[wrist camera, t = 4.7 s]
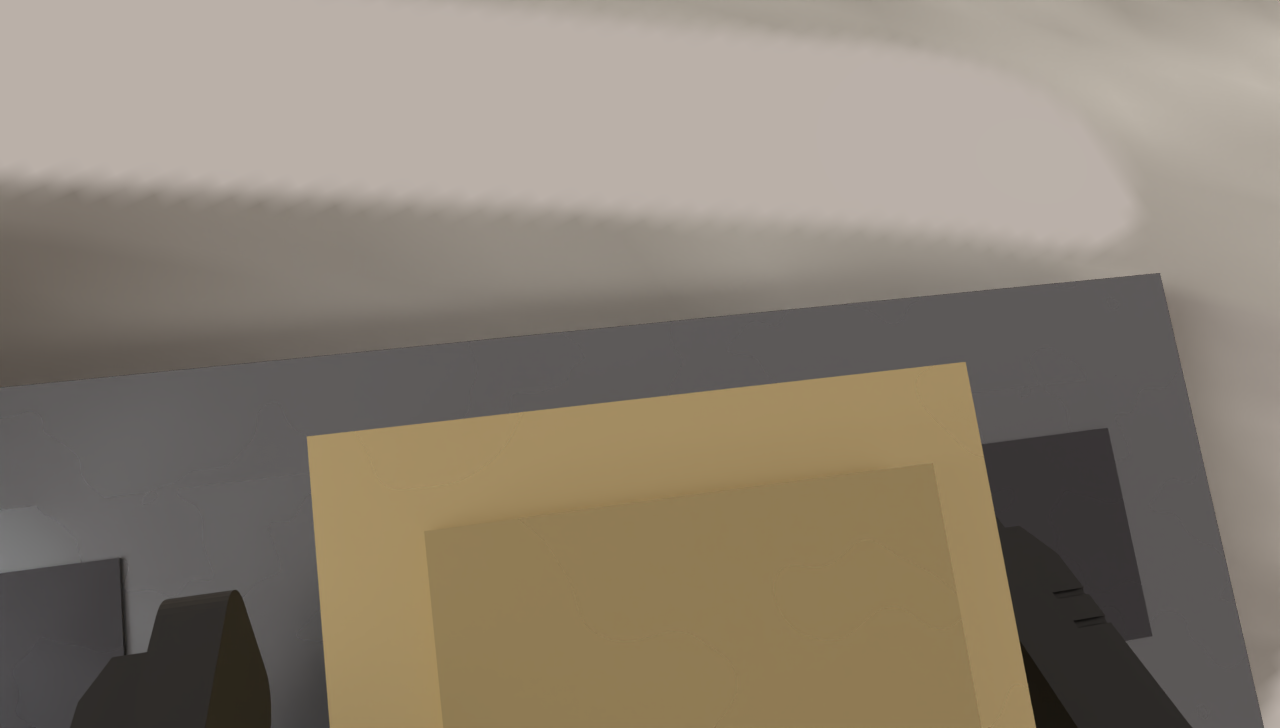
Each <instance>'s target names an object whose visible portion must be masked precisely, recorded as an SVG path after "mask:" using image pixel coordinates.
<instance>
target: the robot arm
mask: <svg viewBox="0 0 1280 728" xmlns="http://www.w3.org/2000/svg"><path fill="white" fill-rule="evenodd" d="M995 517H996V522H997V528H998V533H999V538H1000V543H1001V548H1002V553H1003V559H1004V564H1005V569H1006V574H1007V579H1008V585H1009V590H1010V595H1011V600H1012V605H1013V611H1014V616H1015V621H1016V626H1017V631H1018V637H1019V642H1020V647H1021V652H1022V657H1023V662H1024V668H1025V673H1026V678H1027V683H1028V688H1029V694H1030V699H1031V704H1032V709H1033V714H1034V720H1035V725H1036V728H1192V727H1191V725H1190V724H1189V723H1188V722H1187V720H1186V719H1185V718H1184V716H1183V715H1182V714H1181V713H1180V711H1179V710H1178V709H1177V707H1176V706H1175V705H1174V703H1173V702H1172V701H1171V700H1170V698H1169V697H1168V696H1167V694H1166V693H1165V692H1164V691H1163V689H1162V688H1161V687H1160V685H1159V684H1158V683H1157V681H1156V680H1155V679H1154V678H1153V676H1152V675H1151V674H1150V672H1149V671H1148V670H1147V669H1146V667H1145V666H1144V665H1143V663H1142V662H1141V661H1140V660H1139V658H1138V657H1137V656H1136V654H1135V653H1134V652H1133V650H1132V649H1131V648H1130V647H1129V645H1128V644H1127V643H1126V641H1125V640H1124V639H1123V638H1122V636H1121V635H1120V634H1119V632H1118V631H1117V630H1116V628H1115V627H1114V626H1113V625H1112V623H1111V622H1110V623H1107V622H1106V620H1105V614H1104V613H1103V612H1102V610H1101V609H1100V608H1099V606H1098V605H1097V604H1096V603H1095V601H1094V600H1093V599H1092V597H1091V596H1090V595H1089V594H1085V593H1084V590H1083V588H1084V587H1083V586H1082V585H1081V583H1080V582H1079V581H1078V579H1077V578H1076V577H1075V575H1074V574H1073V573H1072V572H1071V570H1070V569H1069V568H1068V566H1067V565H1066V564H1065V563H1064V561H1063V560H1062V559H1061V557H1060V556H1059V555H1058V553H1056V552H1055V551H1054V550H1052V549H1051V548H1049V547H1048V546H1047V545H1045V544H1044V543H1043V542H1041V541H1040V540H1038V539H1037V538H1036V537H1034V536H1033V535H1032V534H1030V533H1029V532H1027V531H1026V530H1025V529H1023V528H1022V527H1021V526H1014V527H1007V528H1005V527H1004V526H1003V524H1002V523H1001V522H1000V520H999V519H998V518H997V516H996V515H995ZM70 728H271V695H270V687H269V681H268V676H267V672H266V669H265V666H264V663H263V660H262V657H261V654H260V650H259V647H258V644H257V641H256V638H255V635H254V632H253V629H252V626H251V623H250V620H249V617H248V613H247V610H246V607H245V604H244V601H243V598H242V596H241V594H240V593H239V591H237V590H230V591H223V592H215V593H208V594H201V595H194V596H186V597H179V598H172V599H166V600H164V601H163V602H162V603H161V604H160V606H159V609H158V611H157V614H156V618H155V622H154V626H153V630H152V634H151V637H150V641H149V645H148V649H147V652H144V653H137V654H130V655H123V656H117V657H112V658H111V659H110V661H109V662H108V663H107V665H106V666H105V667H104V669H103V670H102V671H101V672H100V674H99V675H98V676H97V678H96V679H95V680H94V682H93V683H92V684H91V686H90V687H89V688H88V690H87V691H86V692H85V693H84V695H83V696H82V697H81V699H80V700H79V701H78V703H77V707H76V710H75V713H74V716H73V719H72V723H71V726H70Z"/></svg>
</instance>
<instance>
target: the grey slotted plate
mask: <svg viewBox="0 0 1280 728" xmlns="http://www.w3.org/2000/svg"><path fill="white" fill-rule="evenodd" d="M960 362H966V367H967V372H968V377H969V382H970V387H971V393H972V398H973V403H974V408H975V413H976V419H977V424H978V429H979V434H980V439H981V445H982V450H983V455H984V460H985V465H986V470H987V476H988V481H989V486H990V491H991V496H992V502H993V507H994V512H995V515H996V516H997V518H998V519H999V520H1000V522H1001V523H1002V524H1003V526H1004V527H1005V528H1007V527H1014V526H1021V527H1022V528H1023V529H1025V530H1026V531H1027V532H1029V533H1030V534H1032V535H1033V536H1034V537H1036V538H1037V539H1038V540H1040V541H1041V542H1043V543H1044V544H1045V545H1047V546H1048V547H1049V548H1051V549H1052V550H1054V551H1055V552H1056V553H1058V555H1059V556H1060V557H1061V559H1062V560H1063V561H1064V563H1065V564H1066V565H1067V566H1068V568H1069V569H1070V570H1071V572H1072V573H1073V574H1074V575H1075V577H1076V578H1077V579H1078V581H1079V582H1080V583H1081V585H1082V586H1083V587H1084V588H1083V590H1084V593H1085V594H1089V595H1090V596H1091V597H1092V599H1093V600H1094V601H1095V603H1096V604H1097V605H1098V606H1099V608H1100V609H1101V610H1102V612H1103V613H1104V614H1105V620H1106V622H1107V623H1110V622H1111V623H1112V625H1113V626H1114V627H1115V628H1116V630H1117V631H1118V632H1119V634H1120V635H1121V636H1122V638H1123V639H1124V640H1125V641H1126V643H1127V644H1128V645H1129V647H1130V648H1131V649H1132V650H1133V652H1134V653H1135V654H1136V656H1137V657H1138V658H1139V660H1140V661H1141V662H1142V663H1143V665H1144V666H1145V667H1146V669H1147V670H1148V671H1149V672H1150V674H1151V675H1152V676H1153V678H1154V679H1155V680H1156V681H1157V683H1158V684H1159V685H1160V687H1161V688H1162V689H1163V691H1164V692H1165V693H1166V694H1167V696H1168V697H1169V698H1170V700H1171V701H1172V702H1173V703H1174V705H1175V706H1176V707H1177V709H1178V710H1179V711H1180V713H1181V714H1182V715H1183V716H1184V718H1185V719H1186V720H1187V722H1188V723H1189V724H1190V725H1191V727H1192V728H1264V726H1263V721H1262V717H1261V712H1260V708H1259V704H1258V699H1257V695H1256V691H1255V686H1254V682H1253V678H1252V673H1251V669H1250V664H1249V660H1248V656H1247V651H1246V647H1245V643H1244V638H1243V634H1242V630H1241V625H1240V621H1239V616H1238V612H1237V608H1236V603H1235V599H1234V595H1233V590H1232V586H1231V582H1230V577H1229V573H1228V568H1227V564H1226V560H1225V555H1224V551H1223V547H1222V542H1221V538H1220V534H1219V529H1218V525H1217V520H1216V516H1215V512H1214V507H1213V503H1212V499H1211V494H1210V490H1209V486H1208V481H1207V477H1206V472H1205V468H1204V464H1203V459H1202V455H1201V451H1200V446H1199V442H1198V438H1197V433H1196V429H1195V425H1194V420H1193V416H1192V411H1191V407H1190V403H1189V398H1188V394H1187V390H1186V385H1185V381H1184V377H1183V372H1182V368H1181V363H1180V359H1179V355H1178V350H1177V346H1176V342H1175V337H1174V333H1173V329H1172V324H1171V320H1170V315H1169V311H1168V307H1167V302H1166V298H1165V294H1164V289H1163V285H1162V281H1161V276H1160V273H1156V274H1146V275H1135V276H1125V277H1115V278H1105V279H1095V280H1085V281H1075V282H1065V283H1054V284H1044V285H1034V286H1024V287H1014V288H1004V289H994V290H984V291H973V292H963V293H953V294H943V295H933V296H923V297H913V298H902V299H892V300H882V301H872V302H862V303H852V304H842V305H832V306H821V307H811V308H801V309H791V310H781V311H771V312H761V313H751V314H740V315H730V316H720V317H710V318H700V319H690V320H680V321H670V322H659V323H649V324H639V325H629V326H619V327H609V328H599V329H588V330H578V331H568V332H558V333H548V334H538V335H528V336H518V337H507V338H497V339H487V340H477V341H467V342H457V343H447V344H437V345H426V346H416V347H406V348H396V349H386V350H376V351H366V352H356V353H345V354H335V355H325V356H315V357H305V358H295V359H285V360H274V361H264V362H254V363H244V364H234V365H224V366H214V367H204V368H193V369H183V370H173V371H163V372H153V373H143V374H133V375H123V376H112V377H102V378H92V379H82V380H72V381H62V382H52V383H42V384H31V385H21V386H11V387H1V388H0V728H70V726H71V723H72V719H73V716H74V713H75V710H76V707H77V703H78V701H79V700H80V699H81V697H82V696H83V695H84V693H85V692H86V691H87V690H88V688H89V687H90V686H91V684H92V683H93V682H94V680H95V679H96V678H97V676H98V675H99V674H100V672H101V671H102V670H103V669H104V667H105V666H106V665H107V663H108V662H109V661H110V659H111V658H112V657H117V656H123V655H130V654H137V653H144V652H147V649H148V645H149V641H150V637H151V634H152V630H153V626H154V622H155V618H156V614H157V611H158V609H159V606H160V604H161V603H162V602H163V601H164V600H166V599H172V598H179V597H186V596H194V595H201V594H208V593H215V592H223V591H230V590H237V591H239V593H240V594H241V596H242V598H243V601H244V604H245V607H246V610H247V613H248V617H249V620H250V623H251V626H252V629H253V632H254V635H255V638H256V641H257V644H258V647H259V650H260V654H261V657H262V660H263V663H264V666H265V669H266V672H267V676H268V681H269V687H270V695H271V728H330V723H329V711H328V698H327V686H326V673H325V660H324V648H323V635H322V622H321V610H320V597H319V585H318V572H317V559H316V547H315V534H314V521H313V509H312V496H311V484H310V471H309V458H308V446H307V436H316V435H325V434H334V433H342V432H351V431H360V430H369V429H378V428H386V427H395V426H404V425H413V424H422V423H431V422H439V421H448V420H457V419H466V418H475V417H483V416H492V415H501V414H510V413H519V412H528V411H536V410H545V409H554V408H563V407H572V406H580V405H589V404H598V403H607V402H616V401H625V400H633V399H642V398H651V397H660V396H669V395H677V394H686V393H695V392H704V391H713V390H722V389H730V388H739V387H748V386H757V385H766V384H774V383H783V382H792V381H801V380H810V379H819V378H827V377H836V376H845V375H854V374H863V373H871V372H880V371H889V370H898V369H907V368H916V367H924V366H933V365H942V364H951V363H960Z"/></svg>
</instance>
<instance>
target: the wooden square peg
mask: <svg viewBox="0 0 1280 728" xmlns="http://www.w3.org/2000/svg"><path fill="white" fill-rule="evenodd" d="M307 446H308V458H309V471H310V484H311V496H312V509H313V521H314V534H315V547H316V559H317V572H318V585H319V597H320V610H321V622H322V635H323V648H324V660H325V673H326V686H327V698H328V711H329V723H330V728H1036V725H1035V720H1034V714H1033V709H1032V704H1031V699H1030V694H1029V688H1028V683H1027V678H1026V673H1025V668H1024V662H1023V657H1022V652H1021V647H1020V642H1019V637H1018V631H1017V626H1016V621H1015V616H1014V611H1013V605H1012V600H1011V595H1010V590H1009V585H1008V579H1007V574H1006V569H1005V564H1004V559H1003V553H1002V548H1001V543H1000V538H999V533H998V528H997V522H996V517H995V512H994V507H993V502H992V496H991V491H990V486H989V481H988V476H987V470H986V465H985V460H984V455H983V450H982V445H981V439H980V434H979V429H978V424H977V419H976V413H975V408H974V403H973V398H972V393H971V387H970V382H969V377H968V372H967V367H966V362H960V363H951V364H942V365H933V366H924V367H916V368H907V369H898V370H889V371H880V372H871V373H863V374H854V375H845V376H836V377H827V378H819V379H810V380H801V381H792V382H783V383H774V384H766V385H757V386H748V387H739V388H730V389H722V390H713V391H704V392H695V393H686V394H677V395H669V396H660V397H651V398H642V399H633V400H625V401H616V402H607V403H598V404H589V405H580V406H572V407H563V408H554V409H545V410H536V411H528V412H519V413H510V414H501V415H492V416H483V417H475V418H466V419H457V420H448V421H439V422H431V423H422V424H413V425H404V426H395V427H386V428H378V429H369V430H360V431H351V432H342V433H334V434H325V435H316V436H307Z"/></svg>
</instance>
